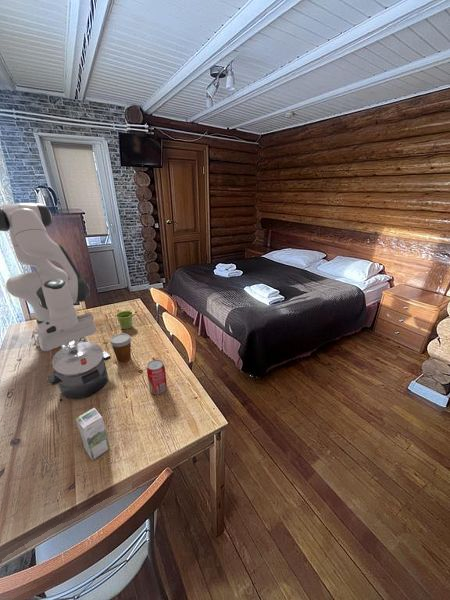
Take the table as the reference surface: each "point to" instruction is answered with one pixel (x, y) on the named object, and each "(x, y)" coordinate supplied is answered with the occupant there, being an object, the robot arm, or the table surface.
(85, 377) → the cooker pot
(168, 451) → the table surface
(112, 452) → the table surface
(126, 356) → the disposable coffee cup
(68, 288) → the robot arm
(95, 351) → the cooker lid
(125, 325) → the plant pot
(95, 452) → the syrup box
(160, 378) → the soda can
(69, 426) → the table surface
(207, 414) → the table surface
